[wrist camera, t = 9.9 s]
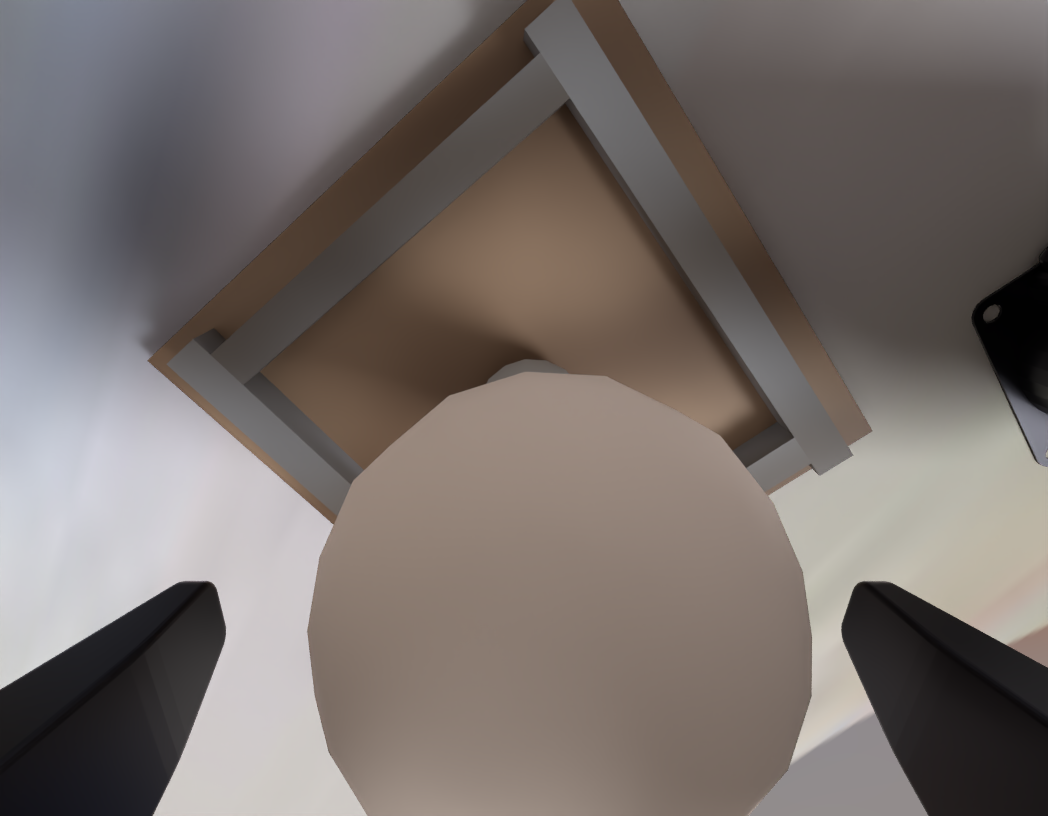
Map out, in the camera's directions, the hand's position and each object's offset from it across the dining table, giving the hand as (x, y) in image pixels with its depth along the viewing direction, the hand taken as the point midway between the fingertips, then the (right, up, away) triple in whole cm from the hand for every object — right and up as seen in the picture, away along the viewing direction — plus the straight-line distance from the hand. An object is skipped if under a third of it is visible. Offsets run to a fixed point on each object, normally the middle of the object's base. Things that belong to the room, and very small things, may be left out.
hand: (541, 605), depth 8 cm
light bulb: (0, +3, +7) cm, 8 cm away
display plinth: (0, +3, +8) cm, 8 cm away
